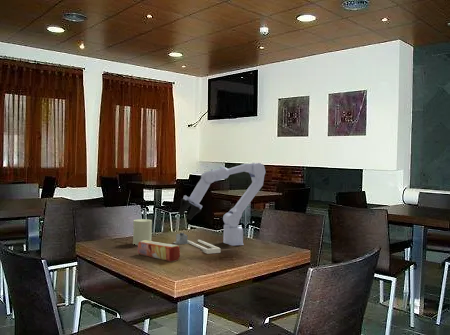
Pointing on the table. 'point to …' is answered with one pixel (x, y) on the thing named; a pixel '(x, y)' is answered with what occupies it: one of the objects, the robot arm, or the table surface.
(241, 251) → the table surface
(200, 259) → the table surface
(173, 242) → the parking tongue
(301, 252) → the table surface
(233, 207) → the robot arm
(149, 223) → the can
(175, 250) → the snack package
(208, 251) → the rail
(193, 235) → the table surface
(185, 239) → the block
